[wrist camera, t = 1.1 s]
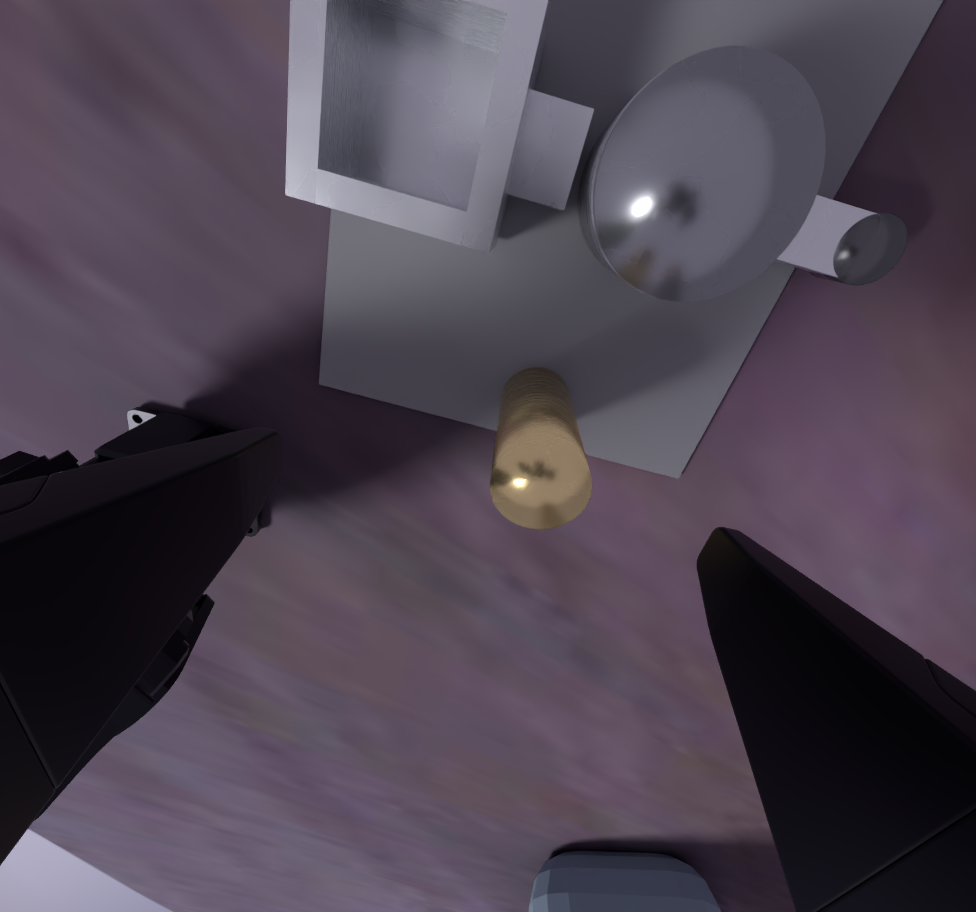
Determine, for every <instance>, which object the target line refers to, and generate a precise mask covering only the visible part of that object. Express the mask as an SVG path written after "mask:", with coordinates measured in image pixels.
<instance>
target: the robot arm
mask: <svg viewBox="0 0 976 912" xmlns="http://www.w3.org/2000/svg"><path fill="white" fill-rule="evenodd" d="M139 416H140V417H141V418H142V419H141V418H140V417H139ZM127 418H128V425H129V431H127V432H125V433H124V434H122V435H120V436H118V437H116V438H115V439H113V440H111V441H109V442H107V443H106V444H104V445H102V446H100V447H99V448H97V449H96V450H95V451H94V452H95V456H96V457H94V458H92V459H91V460H89V461H87V462H85V463H83V464H82V465H80V466H79V465H78V464H77V463H76V462H78V460H77V459H76V458H75V457H74V456H73V455H72V454H71V453H70V452H69V451H68V450H67V451H65V452H63V453H60V454H58V455H56V456H54V457H52V458H50V459H48V458H47V457H46V456H45V455H44V456H41V457H37V456H34V455H31V454H28V453H25V452H22V451H18V452H16V453H14V454H12V455H9V456H7V457H5V458H3V459H1V460H0V865H1V864H2V862H3V861H4V860H5V859H6V857H7V856H8V854H9V853H10V852H11V850H12V849H13V848H14V846H15V845H16V844H17V842H18V841H19V840H20V838H21V837H22V836H23V834H24V833H25V832H26V830H27V829H28V828H29V826H30V825H31V824H32V822H33V821H34V820H36V819H37V818H38V817H39V816H40V815H42V814H43V812H44V811H45V810H46V809H47V808H48V807H49V806H50V805H51V803H52V802H53V801H54V800H55V799H56V798H57V797H58V795H59V794H60V793H61V792H62V791H63V790H64V789H65V788H66V786H67V785H68V784H69V783H70V782H71V781H72V780H73V778H74V777H75V776H76V775H77V774H78V773H79V772H80V771H81V770H82V768H83V767H84V766H85V765H86V764H87V763H88V762H89V761H90V760H91V759H92V758H93V757H94V756H95V754H96V753H97V752H98V751H100V750H101V749H102V748H103V747H104V746H105V745H106V744H107V743H108V742H109V741H110V740H111V739H112V738H113V737H114V736H116V735H118V734H120V733H121V732H123V731H124V730H126V729H127V728H129V727H130V726H131V725H133V724H134V723H135V722H137V721H138V720H139V719H140V718H141V717H143V716H144V715H145V714H146V713H147V712H148V711H149V710H150V709H151V708H152V707H154V706H155V705H156V704H157V703H158V702H159V701H160V699H161V698H162V697H163V696H164V695H165V694H166V693H167V692H168V691H169V689H170V688H171V687H172V685H173V684H174V683H175V681H176V680H177V678H178V677H179V675H180V673H181V672H182V670H183V668H184V666H185V664H186V662H187V660H188V657H189V655H190V653H191V651H192V649H193V647H194V645H195V643H196V641H197V639H198V637H199V635H200V633H201V630H202V628H203V626H204V624H205V622H206V620H207V618H208V616H209V614H210V612H211V610H212V608H213V606H214V603H215V602H214V601H213V600H212V599H211V598H210V597H209V596H208V595H207V594H205V595H204V594H203V593H204V591H205V590H206V589H207V587H208V586H209V585H210V583H211V582H212V581H213V579H214V578H215V577H216V575H217V574H218V573H219V571H220V570H221V569H222V567H223V566H224V565H225V563H226V562H227V561H228V559H229V558H230V557H231V555H232V554H233V553H234V551H235V550H236V548H237V547H238V546H239V544H240V543H241V541H242V540H243V539H244V537H245V536H250V537H252V536H255V535H256V534H257V533H258V532H259V531H260V529H261V508H262V507H263V505H264V503H265V501H266V500H267V498H268V496H269V494H270V493H271V491H272V489H273V487H274V486H275V484H276V482H277V480H278V479H279V476H280V473H281V468H282V457H281V436H280V433H279V432H278V431H276V430H273V429H268V428H263V427H253V428H249V429H244V430H240V431H234V430H231V429H227V428H223V427H219V426H215V425H214V424H212V423H208V422H204V421H200V420H196V419H192V418H188V417H184V416H181V415H177V414H173V413H169V412H160V411H156V410H152V409H148V408H144V407H136V408H134V409H132V410H130V411H129V412H128V413H127ZM250 527H251V528H250ZM697 571H698V576H699V582H700V587H701V592H702V597H703V602H704V607H705V612H706V617H707V623H708V627H709V631H710V635H711V639H712V642H713V646H714V649H715V652H716V656H717V659H718V662H719V665H720V669H721V672H722V675H723V678H724V681H725V685H726V688H727V691H728V694H729V698H730V701H731V704H732V707H733V711H734V714H735V717H736V720H737V723H738V727H739V730H740V733H741V736H742V740H743V743H744V746H745V749H746V752H747V756H748V759H749V762H750V765H751V769H752V772H753V775H754V778H755V782H756V785H757V788H758V791H759V794H760V798H761V801H762V804H763V807H764V811H765V814H766V817H767V820H768V823H769V827H770V830H771V833H772V836H773V840H774V843H775V846H776V849H777V853H778V856H779V859H780V862H781V865H782V869H783V872H784V875H785V878H786V882H787V885H788V888H789V891H790V894H791V898H792V901H793V904H794V907H795V911H796V912H976V691H975V690H974V689H972V688H971V687H969V686H968V685H966V684H965V683H963V682H962V681H960V680H959V679H957V678H956V677H954V676H953V675H951V674H950V673H948V672H947V671H945V670H944V669H942V668H941V667H939V666H938V665H936V664H935V663H933V662H932V661H930V660H929V659H924V657H923V655H921V654H920V653H918V652H917V651H916V650H914V649H913V648H911V647H910V646H908V645H907V644H905V643H904V642H902V641H901V640H899V639H898V638H896V637H895V636H893V635H892V634H890V633H889V632H888V631H886V630H885V629H883V628H882V627H880V626H879V625H877V624H876V623H874V622H873V621H871V620H870V619H868V618H867V617H865V616H864V615H862V614H861V613H860V612H858V611H857V610H855V609H854V608H852V607H851V606H849V605H848V604H846V603H845V602H843V601H842V600H840V599H839V598H837V597H836V596H834V595H833V594H832V593H830V592H829V591H827V590H826V589H824V588H823V587H821V586H820V585H818V584H817V583H815V582H814V581H812V580H811V579H809V578H808V577H806V576H805V575H804V574H802V573H801V572H799V571H798V570H796V569H795V568H793V567H792V566H790V565H789V564H787V563H786V562H784V561H783V560H781V559H780V558H778V557H777V556H776V555H774V554H773V553H771V552H770V551H768V550H767V549H765V548H764V547H762V546H761V545H759V544H758V543H756V542H755V541H753V540H752V539H750V538H749V537H748V536H746V535H745V534H743V533H742V532H740V531H738V530H734V529H730V528H725V527H718V528H716V529H715V530H713V532H712V533H711V535H710V537H709V538H708V540H707V542H706V544H705V545H704V547H703V549H702V551H701V552H700V554H699V556H698V559H697Z"/></svg>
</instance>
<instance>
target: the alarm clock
mask: <svg viewBox="0 0 976 912" xmlns="http://www.w3.org/2000/svg"><path fill="white" fill-rule="evenodd" d="M529 912H721V910H720V908H719V906H718V904H717V902H716V900H715V898H714V896H713V894H712V893H711V891H710V889H709V887H708V885H707V883H706V881H705V880H704V879H703V878H702V877H701V876H700V875H699V874H698V873H697V872H696V871H695V870H694V869H693V868H692V867H691V866H690V865H688V864H686V863H684V862H682V861H680V860H678V859H675V858H673V857H671V856H669V855H663V854H656V853H635V852H603V851H571V852H564V853H562V854H560V855H557V856H555V857H553V858H551V859H549V860H547V861H546V862H545V864H544V865H543V867H542V868H541V870H540V872H539V873H538V875H537V877H536V879H535V881H534V885H533V890H532V895H531V899H530V904H529Z"/></svg>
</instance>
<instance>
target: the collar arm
mask: <svg viewBox="0 0 976 912" xmlns="http://www.w3.org/2000/svg"><path fill="white" fill-rule="evenodd" d="M550 5H551V0H290V38H289V76H288V114H287V152H286V190H285V195H287V196H291V197H294V198H298V199H301V200H305V201H308V202H312V203H315V204H319V205H322V206H326V207H329V208H332V209H336V210H339V211H343V212H346V213H350V214H353V215H357V216H360V217H364V218H367V219H371V220H374V221H378V222H381V223H385V224H388V225H392V226H395V227H399V228H402V229H406V230H409V231H413V232H416V233H420V234H423V235H427V236H430V237H434V238H437V239H441V240H444V241H447V242H451V243H454V244H458V245H461V246H465V247H468V248H472V249H475V250H479V251H482V252H486V253H490V252H491V250H492V249H493V248H494V247H495V246H496V245H497V241H498V236H499V232H500V228H501V224H502V220H503V216H504V211H505V207H506V203H507V199H508V195H509V196H513V197H516V198H519V199H523V200H526V201H530V202H533V203H536V204H540V205H543V206H547V207H550V208H553V209H557V210H560V211H562V210H564V209H565V206H566V202H567V199H568V196H569V192H570V189H571V186H572V182H573V179H574V176H575V172H576V169H577V166H578V162H579V159H580V155H581V152H582V149H583V145H584V142H585V139H586V135H587V132H588V129H589V125H590V122H591V119H592V115H593V112H594V109H593V108H589V107H586V106H583V105H580V104H576V103H573V102H570V101H567V100H564V99H560V98H557V97H554V96H551V95H548V94H544V93H541V92H538V91H535V90H534V87H535V82H536V78H537V74H538V70H539V66H540V62H541V57H542V53H543V49H544V45H545V41H546V36H547V28H548V20H549V12H550ZM906 243H907V230H906V226H905V224H904V223H903V221H902V220H901V219H900V218H899V217H897V216H895V215H893V214H889V213H874V212H871V211H867V210H864V209H861V208H858V207H854V206H851V205H848V204H845V203H841V202H838V201H835V200H832V199H828V198H825V197H822V196H819V195H816V198H815V201H814V204H813V206H812V208H811V210H810V212H809V214H808V216H807V218H806V220H805V222H804V224H803V225H802V227H801V229H800V230H799V232H798V233H797V235H796V236H795V238H794V239H793V240H792V242H791V243H790V244H789V246H788V247H787V248H786V249H785V250H784V252H783V253H782V254H781V255H780V256H779V257H778V258H777V259H776V260H775V262H779V263H782V264H786V265H789V266H792V267H796V268H799V269H802V270H806V271H809V272H810V273H811V274H812V275H814V276H816V277H819V278H823V279H828V280H832V281H837V282H841V283H846V284H850V285H864V284H868V283H871V282H873V281H876V280H878V279H879V278H881V277H883V276H884V275H885V274H887V273H888V272H889V271H890V270H891V269H892V268H893V267H894V266H895V265H896V264H897V262H898V261H899V260H900V258H901V256H902V254H903V252H904V250H905V247H906Z"/></svg>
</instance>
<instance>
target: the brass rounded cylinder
mask: <svg viewBox="0 0 976 912" xmlns="http://www.w3.org/2000/svg"><path fill="white" fill-rule="evenodd" d="M591 492H592V478H591V475H590V471H589V467H588V463H587V459H586V455H585V451H584V447H583V443H582V439H581V435H580V432H579V428H578V424H577V420H576V416H575V412H574V408H573V404H572V400H571V396H570V392H569V389H568V387H567V384H566V383H565V381H564V380H563V379H562V378H561V377H560V376H559V375H558V374H557V373H555V372H553V371H551V370H549V369H546V368H541V367H531V368H526V369H523V370H521V371H519V372H517V373H516V374H514V375H513V376H512V377H511V378H510V379H509V380H508V381H507V382H506V384H505V386H504V387H503V390H502V394H501V400H500V408H499V416H498V424H497V432H496V440H495V448H494V456H493V464H492V472H491V480H490V493H491V497H492V500H493V502H494V504H495V506H496V508H497V509H498V510H499V511H500V513H501V514H502V515H503V516H504V517H506V518H507V519H508V520H510V521H512V522H513V523H515V524H518V525H520V526H523V527H527V528H532V529H549V528H554V527H558V526H561V525H564V524H566V523H568V522H570V521H571V520H573V519H574V518H576V517H577V516H578V515H579V514H580V513H581V512H582V511H583V510H584V508H585V507H586V505H587V504H588V502H589V499H590V497H591Z"/></svg>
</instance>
